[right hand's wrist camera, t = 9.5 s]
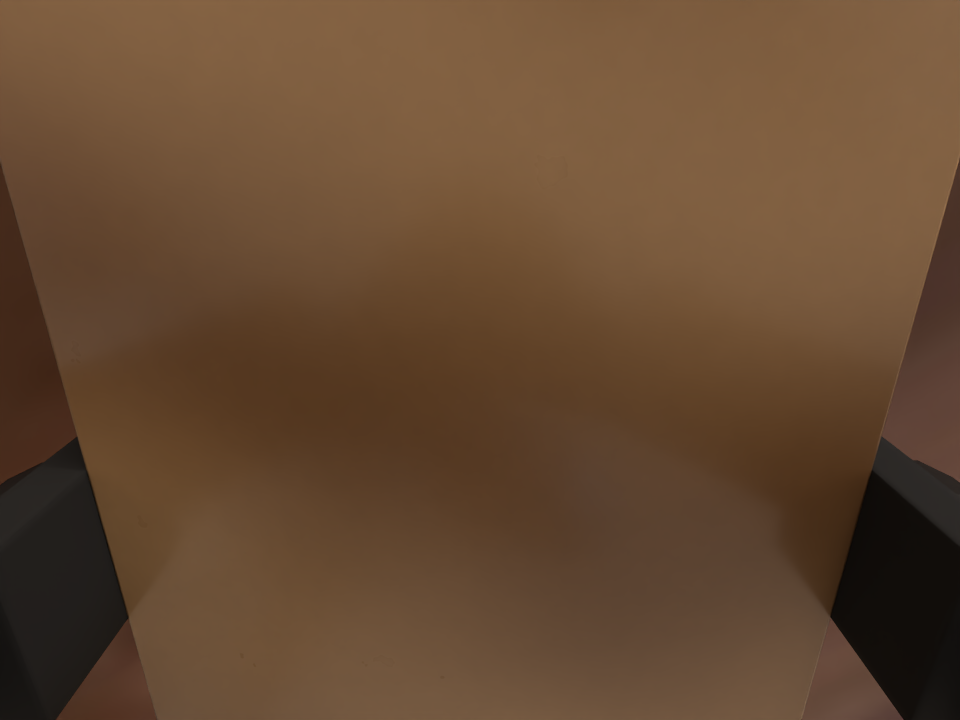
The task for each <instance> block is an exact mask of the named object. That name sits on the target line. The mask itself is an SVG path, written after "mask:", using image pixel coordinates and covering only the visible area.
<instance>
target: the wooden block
mask: <svg viewBox="0 0 960 720" xmlns="http://www.w3.org/2000/svg"><path fill="white" fill-rule="evenodd" d="M959 159H960V0H0V164H1V167H2V171H3V174H4V178H5V182H6V185H7V189H8V192H9V196H10V199H11V203H12V206H13V210H14V214H15V217H16V221H17V224H18V228H19V231H20V235H21V238H22V242H23V246H24V249H25V253H26V256H27V260H28V263H29V267H30V270H31V274H32V277H33V281H34V285H35V288H36V292H37V295H38V299H39V302H40V306H41V309H42V313H43V317H44V320H45V324H46V327H47V331H48V334H49V338H50V341H51V345H52V349H53V352H54V356H55V359H56V363H57V366H58V370H59V373H60V377H61V381H62V384H63V388H64V391H65V395H66V398H67V402H68V405H69V409H70V413H71V416H72V420H73V423H74V427H75V430H76V434H77V437H78V441H79V444H80V448H81V452H82V455H83V459H84V462H85V466H86V469H87V473H88V476H89V480H90V484H91V487H92V491H93V494H94V498H95V501H96V505H97V508H98V512H99V516H100V519H101V523H102V526H103V530H104V533H105V537H106V540H107V544H108V548H109V551H110V555H111V558H112V562H113V565H114V569H115V572H116V576H117V579H118V583H119V587H120V590H121V594H122V597H123V601H124V604H125V608H126V611H127V615H128V619H129V622H130V626H131V629H132V633H133V636H134V640H135V643H136V647H137V651H138V654H139V658H140V661H141V665H142V668H143V672H144V675H145V679H146V683H147V686H148V690H149V693H150V697H151V700H152V704H153V707H154V711H155V714H156V718H157V720H802V716H803V713H804V709H805V706H806V702H807V699H808V695H809V692H810V688H811V685H812V681H813V677H814V674H815V670H816V667H817V663H818V660H819V656H820V653H821V649H822V645H823V642H824V638H825V635H826V631H827V628H828V624H829V621H830V617H831V613H832V610H833V606H834V603H835V599H836V596H837V592H838V589H839V585H840V581H841V578H842V574H843V571H844V567H845V564H846V560H847V557H848V553H849V549H850V546H851V542H852V539H853V535H854V532H855V528H856V525H857V521H858V518H859V514H860V510H861V507H862V503H863V500H864V496H865V493H866V489H867V486H868V482H869V478H870V475H871V471H872V468H873V464H874V461H875V457H876V454H877V450H878V446H879V443H880V439H881V436H882V432H883V429H884V425H885V422H886V418H887V414H888V411H889V407H890V404H891V400H892V397H893V393H894V390H895V386H896V383H897V379H898V375H899V372H900V368H901V365H902V361H903V358H904V354H905V351H906V347H907V343H908V340H909V336H910V333H911V329H912V326H913V322H914V319H915V315H916V311H917V308H918V304H919V301H920V297H921V294H922V290H923V287H924V283H925V279H926V276H927V272H928V269H929V265H930V262H931V258H932V255H933V251H934V248H935V244H936V240H937V237H938V233H939V230H940V226H941V223H942V219H943V216H944V212H945V208H946V205H947V201H948V198H949V194H950V191H951V187H952V184H953V180H954V176H955V173H956V169H957V166H958V162H959Z"/></svg>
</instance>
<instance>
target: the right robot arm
mask: <svg viewBox="0 0 960 720" xmlns="http://www.w3.org/2000/svg"><path fill="white" fill-rule="evenodd" d="M831 618H832V620H833V621H834V623H835V624H836V625H837V627H838V628H839V630H840V631H841V632H842V634H843V635H844V637H845V638H846V639H847V641H848V642H849V644H850V645H851V646H852V648H853V649H854V651H855V652H856V653H857V655H858V656H859V658H860V659H861V660H862V662H863V663H864V665H865V666H866V667H867V669H868V670H869V672H870V673H871V674H872V676H873V677H874V679H875V680H876V681H877V683H878V684H879V686H880V687H881V688H882V690H883V691H884V693H885V694H886V695H887V697H888V698H889V700H890V701H891V702H892V704H893V705H894V707H895V708H896V709H897V711H898V712H899V714H900V715H901V716H902V718H903V719H904V720H960V483H959V482H958V481H957V480H955V479H954V478H953V477H951V476H949V475H947V474H944V473H942V472H940V471H938V470H936V469H934V468H932V467H930V466H928V465H926V464H924V463H922V462H920V461H918V460H912V459H910V458H909V457H908V456H906V455H905V454H904V453H903V452H901V451H900V450H899V449H897V448H896V447H895V446H893V445H892V444H891V443H890V442H888V441H887V440H886V439H884V438H883V437H882V436H881V439H880V443H879V446H878V450H877V454H876V457H875V461H874V464H873V468H872V471H871V475H870V478H869V482H868V486H867V489H866V493H865V496H864V500H863V503H862V507H861V510H860V514H859V518H858V521H857V525H856V528H855V532H854V535H853V539H852V542H851V546H850V549H849V553H848V557H847V560H846V564H845V567H844V571H843V574H842V578H841V581H840V585H839V589H838V592H837V596H836V599H835V603H834V606H833V610H832V613H831ZM127 619H128V615H127V611H126V608H125V604H124V601H123V597H122V594H121V590H120V587H119V583H118V579H117V576H116V572H115V569H114V565H113V562H112V558H111V555H110V551H109V548H108V544H107V540H106V537H105V533H104V530H103V526H102V523H101V519H100V516H99V512H98V508H97V505H96V501H95V498H94V494H93V491H92V487H91V484H90V480H89V476H88V473H87V469H86V466H85V462H84V459H83V455H82V452H81V448H80V444H79V441H78V437H76V438H75V439H74V440H72V441H71V442H70V443H68V444H67V445H66V446H64V447H63V448H62V449H61V450H59V451H58V452H57V453H55V454H54V455H53V456H52V457H50V458H49V459H48V460H46V461H45V462H44V463H41V464H38V465H36V466H34V467H32V468H30V469H28V470H26V471H24V472H22V473H20V474H18V475H16V476H14V477H12V478H10V479H8V480H6V481H5V482H4V483H2V484H1V485H0V720H56V718H57V717H58V716H59V714H60V713H61V711H62V710H63V708H64V707H65V706H66V704H67V703H68V701H69V700H70V699H71V697H72V696H73V694H74V693H75V692H76V690H77V689H78V687H79V686H80V685H81V683H82V682H83V680H84V679H85V678H86V676H87V675H88V673H89V672H90V671H91V669H92V668H93V666H94V665H95V664H96V662H97V661H98V659H99V658H100V657H101V655H102V654H103V652H104V651H105V650H106V648H107V647H108V645H109V644H110V643H111V641H112V640H113V638H114V637H115V636H116V634H117V633H118V631H119V630H120V629H121V627H122V626H123V624H124V623H125V622H126V620H127Z"/></svg>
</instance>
